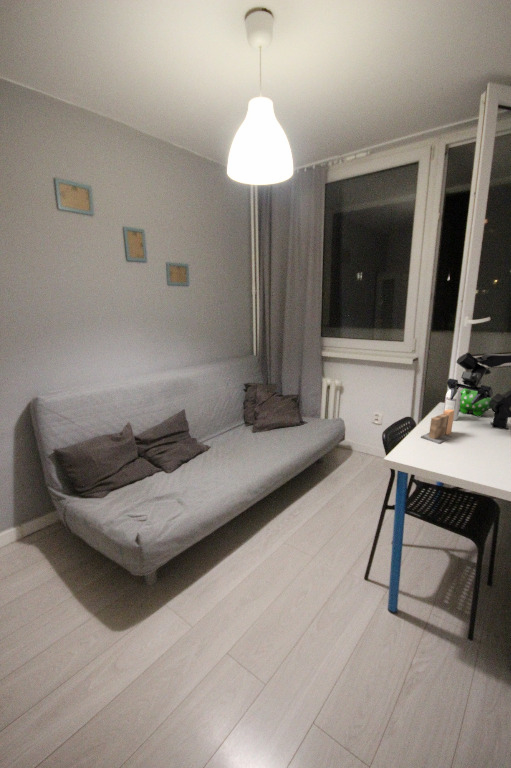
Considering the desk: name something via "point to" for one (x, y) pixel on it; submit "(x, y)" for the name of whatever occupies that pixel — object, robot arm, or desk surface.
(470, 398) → the piggy bank
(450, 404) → the bath foam
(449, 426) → the block
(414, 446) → the desk surface
